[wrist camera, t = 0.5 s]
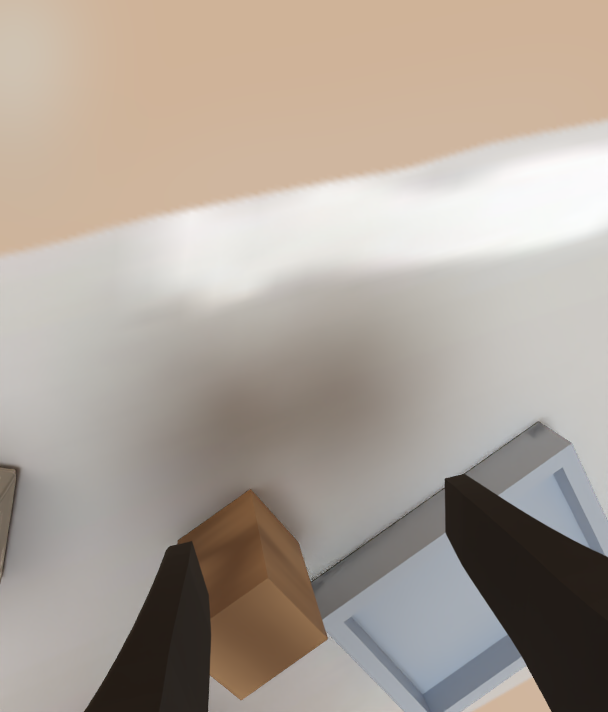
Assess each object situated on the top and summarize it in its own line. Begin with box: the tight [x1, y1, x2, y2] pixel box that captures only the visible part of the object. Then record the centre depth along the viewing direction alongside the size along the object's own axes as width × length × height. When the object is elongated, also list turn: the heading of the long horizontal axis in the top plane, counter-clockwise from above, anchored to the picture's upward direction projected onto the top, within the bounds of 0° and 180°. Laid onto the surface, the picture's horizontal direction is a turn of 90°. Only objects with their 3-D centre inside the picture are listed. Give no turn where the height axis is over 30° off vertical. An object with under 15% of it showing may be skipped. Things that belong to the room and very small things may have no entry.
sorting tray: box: [311, 422, 608, 712], centre depth 27 cm, size 16×13×2 cm
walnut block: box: [178, 489, 328, 700], centre depth 22 cm, size 4×4×6 cm
